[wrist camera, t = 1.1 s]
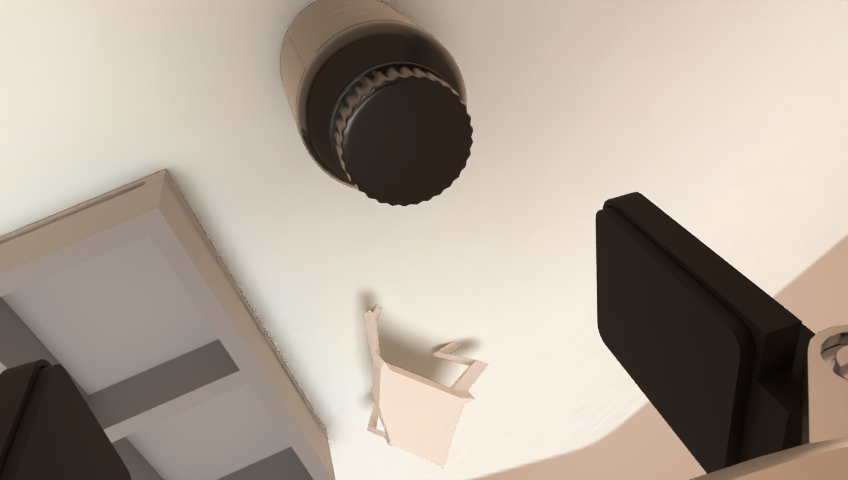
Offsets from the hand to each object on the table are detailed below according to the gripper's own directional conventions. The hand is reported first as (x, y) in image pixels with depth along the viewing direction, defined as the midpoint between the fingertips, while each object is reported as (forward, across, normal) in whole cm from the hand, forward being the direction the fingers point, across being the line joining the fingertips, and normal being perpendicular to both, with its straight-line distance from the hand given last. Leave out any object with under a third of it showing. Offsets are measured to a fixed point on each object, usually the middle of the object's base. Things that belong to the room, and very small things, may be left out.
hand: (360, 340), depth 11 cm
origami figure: (+23, -2, +21) cm, 32 cm away
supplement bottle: (+24, -3, +2) cm, 24 cm away
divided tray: (+23, +11, +16) cm, 30 cm away
